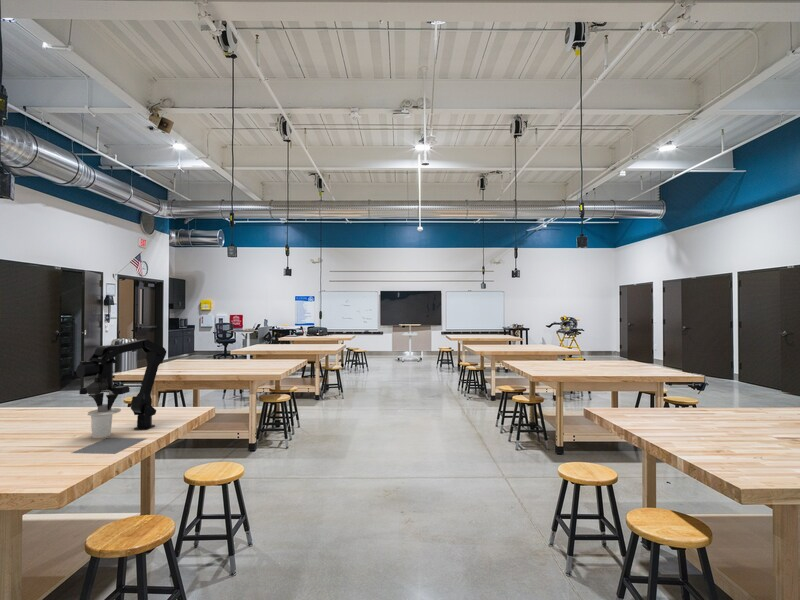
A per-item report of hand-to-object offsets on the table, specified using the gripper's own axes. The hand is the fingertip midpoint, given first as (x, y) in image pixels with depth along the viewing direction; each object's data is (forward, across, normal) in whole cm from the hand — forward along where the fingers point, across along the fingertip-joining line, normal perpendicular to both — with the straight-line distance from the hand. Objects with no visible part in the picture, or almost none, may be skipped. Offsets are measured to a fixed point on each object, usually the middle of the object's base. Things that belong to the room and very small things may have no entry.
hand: (104, 409), depth 187 cm
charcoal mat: (+13, +10, -10) cm, 19 cm away
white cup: (+13, -3, +3) cm, 14 cm away
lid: (+1, 0, 0) cm, 1 cm away
